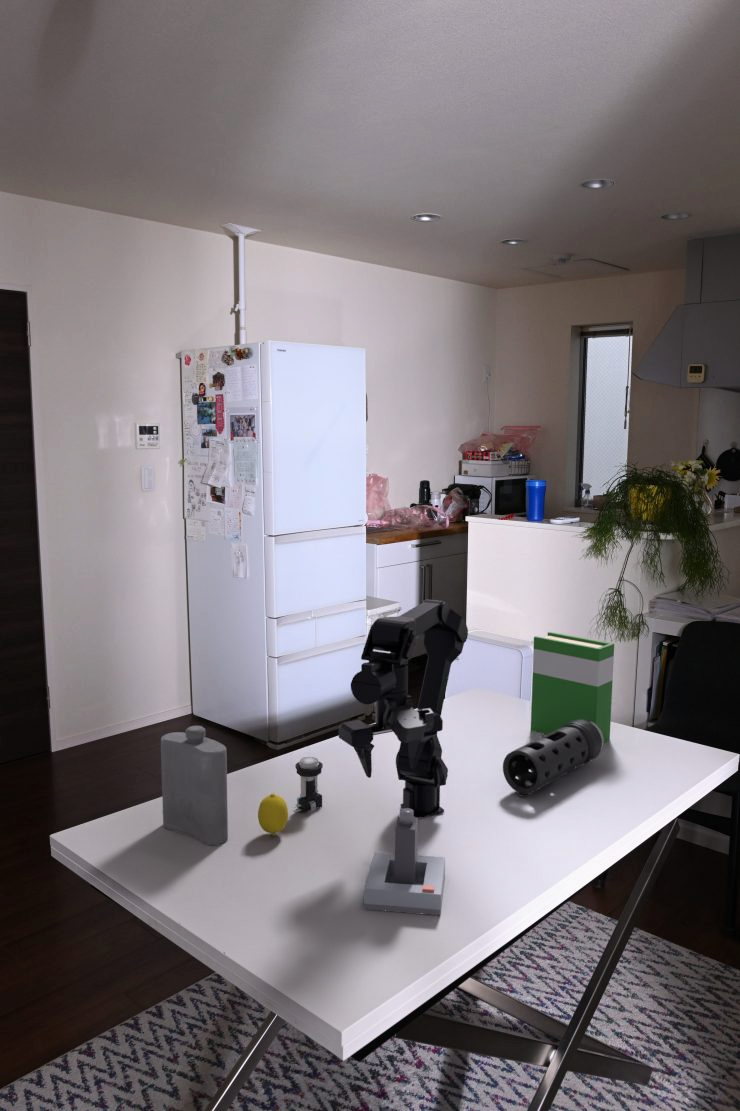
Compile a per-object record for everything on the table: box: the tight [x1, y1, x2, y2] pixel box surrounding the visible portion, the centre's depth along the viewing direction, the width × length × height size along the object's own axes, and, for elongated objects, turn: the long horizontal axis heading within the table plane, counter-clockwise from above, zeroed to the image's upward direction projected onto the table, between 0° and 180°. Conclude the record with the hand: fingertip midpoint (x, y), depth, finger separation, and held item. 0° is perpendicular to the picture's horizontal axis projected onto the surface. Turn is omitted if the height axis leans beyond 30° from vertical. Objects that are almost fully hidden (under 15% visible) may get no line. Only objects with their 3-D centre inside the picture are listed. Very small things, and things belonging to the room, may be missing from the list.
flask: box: [160, 725, 229, 847], centre depth 162 cm, size 15×6×20 cm, turn 54°
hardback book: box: [530, 631, 615, 744], centre depth 214 cm, size 18×7×24 cm, turn 48°
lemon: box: [257, 793, 289, 836], centre depth 162 cm, size 6×6×8 cm
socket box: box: [363, 851, 446, 916], centre depth 142 cm, size 12×12×4 cm
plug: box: [394, 808, 419, 885], centre depth 141 cm, size 4×3×13 cm
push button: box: [291, 756, 324, 814], centre depth 172 cm, size 7×5×10 cm
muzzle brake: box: [502, 719, 604, 798], centre depth 189 cm, size 10×28×10 cm, turn 138°
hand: (390, 772), depth 158 cm, fingers open, 9 cm apart
